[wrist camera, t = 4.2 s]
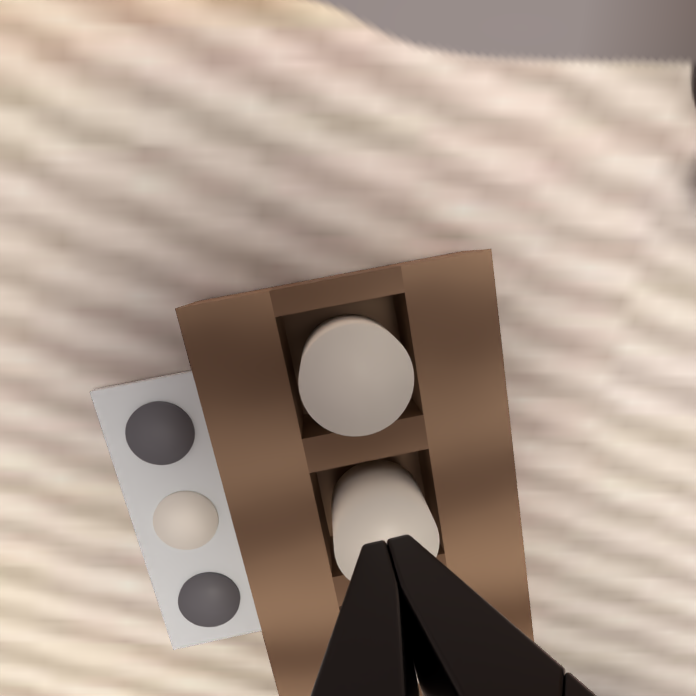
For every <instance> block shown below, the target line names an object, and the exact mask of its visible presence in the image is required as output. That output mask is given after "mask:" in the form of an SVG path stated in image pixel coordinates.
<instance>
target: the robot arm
mask: <svg viewBox="0 0 696 696" xmlns="http://www.w3.org/2000/svg"><path fill="white" fill-rule="evenodd" d="M416 674H417V676H416ZM417 678H418V681H417ZM418 682H419V685H420V689H421V692H422V695H423V696H596V695H595V694H594V693H593V692H592V691H590V690H589V689H588V688H587V687H586V686H585V685H584V684H582V683H581V682H580V681H579V680H578V679H577V678H576V677H574V676H573V675H572V674H571V673H566V672H565V669H564V668H563V667H562V666H561V665H560V664H559V663H558V662H557V661H556V660H554V659H553V658H552V657H551V656H550V655H549V654H547V653H546V652H545V651H544V650H543V649H542V648H540V647H539V646H538V645H537V644H536V643H535V642H533V641H532V640H531V639H530V638H529V637H528V636H526V635H525V634H524V633H523V632H522V631H521V630H520V629H518V628H517V627H516V626H515V625H514V624H513V623H511V622H510V621H509V620H508V619H507V618H506V617H504V616H503V615H502V614H501V613H500V612H499V611H497V610H496V609H495V608H494V607H493V606H492V605H491V604H489V603H488V602H487V601H486V600H485V599H484V598H482V597H481V596H480V595H479V594H478V593H477V592H475V591H474V590H473V589H472V588H471V587H470V586H468V585H467V584H466V583H465V582H464V581H463V580H461V579H460V578H459V577H458V576H457V575H456V574H455V573H453V572H452V571H451V570H450V569H449V568H448V567H446V566H445V565H444V564H443V563H442V562H441V561H439V560H438V559H437V558H436V557H435V556H434V555H432V554H431V553H430V552H429V551H428V550H427V549H426V548H424V547H423V546H422V545H421V544H420V543H419V542H417V541H416V540H415V539H414V538H413V537H412V536H410V535H408V534H407V535H401V536H397V537H393V538H389V539H388V540H387V543H386V542H385V541H384V540H380V541H375V542H371V543H367V544H364V545H363V546H362V548H361V551H360V554H359V557H358V560H357V563H356V565H355V568H354V571H353V574H352V577H351V580H350V583H349V586H348V588H347V591H346V594H345V597H344V600H343V603H342V606H341V609H340V612H339V614H338V617H337V620H336V623H335V626H334V629H333V632H332V635H331V638H330V640H329V643H328V646H327V649H326V652H325V655H324V658H323V661H322V663H321V666H320V669H319V672H318V675H317V678H316V681H315V684H314V687H313V689H312V692H311V695H310V696H420V692H419V686H418Z"/></svg>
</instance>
